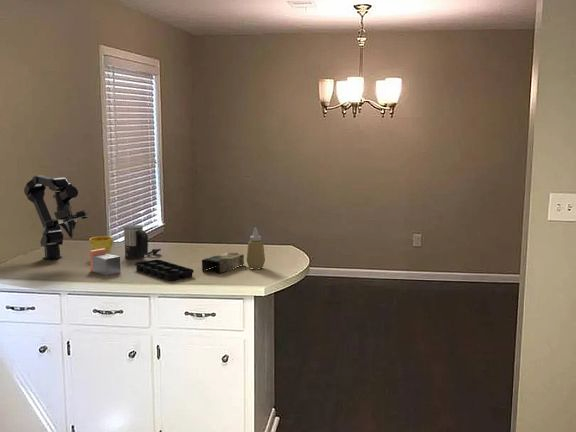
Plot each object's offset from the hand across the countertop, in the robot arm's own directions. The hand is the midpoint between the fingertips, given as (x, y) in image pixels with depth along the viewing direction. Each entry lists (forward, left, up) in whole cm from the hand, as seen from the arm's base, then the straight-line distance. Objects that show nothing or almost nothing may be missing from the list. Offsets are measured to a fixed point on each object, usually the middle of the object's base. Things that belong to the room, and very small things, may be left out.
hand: (71, 237), depth 303 cm
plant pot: (+3, +15, -12) cm, 20 cm away
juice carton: (+66, +22, -13) cm, 71 cm away
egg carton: (+48, +3, -13) cm, 50 cm away
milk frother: (+17, +28, -13) cm, 35 cm away
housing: (+24, -5, -12) cm, 28 cm away
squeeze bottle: (+78, +28, -12) cm, 84 cm away
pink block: (+23, -5, -12) cm, 26 cm away
